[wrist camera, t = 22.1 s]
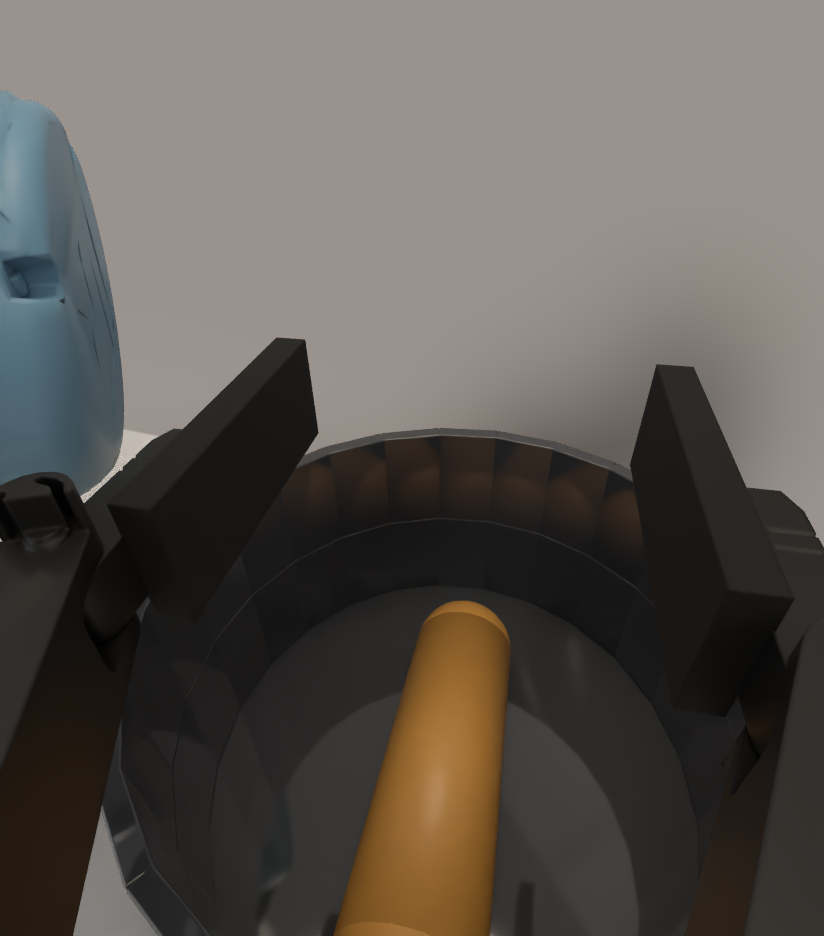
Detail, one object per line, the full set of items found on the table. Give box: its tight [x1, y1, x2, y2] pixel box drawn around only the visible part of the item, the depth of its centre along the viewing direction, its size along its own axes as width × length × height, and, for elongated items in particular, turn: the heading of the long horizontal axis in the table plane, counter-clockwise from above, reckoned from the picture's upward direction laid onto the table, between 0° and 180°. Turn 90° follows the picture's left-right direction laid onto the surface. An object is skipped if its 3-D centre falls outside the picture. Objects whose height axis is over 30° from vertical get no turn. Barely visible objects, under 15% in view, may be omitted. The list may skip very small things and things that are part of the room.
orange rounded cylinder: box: [333, 601, 511, 936], centre depth 19 cm, size 15×4×4 cm, turn 168°
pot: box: [101, 428, 746, 936], centre depth 19 cm, size 19×19×10 cm
